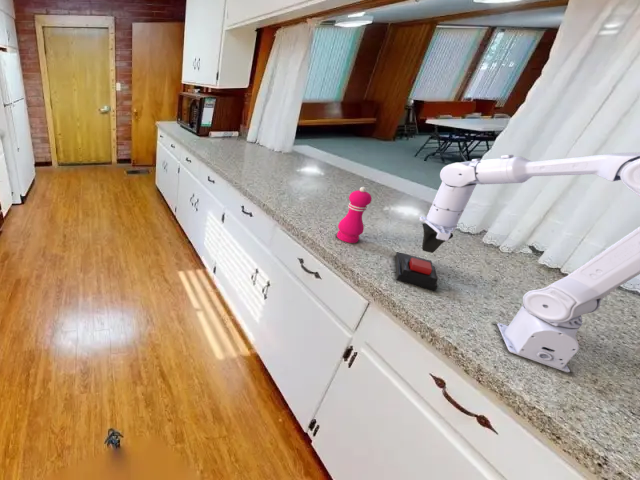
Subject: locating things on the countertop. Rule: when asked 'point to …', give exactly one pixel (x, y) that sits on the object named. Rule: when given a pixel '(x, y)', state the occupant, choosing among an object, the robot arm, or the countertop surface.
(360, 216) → the pepper mill
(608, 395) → the countertop surface
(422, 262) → the block
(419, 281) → the press
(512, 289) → the countertop surface
